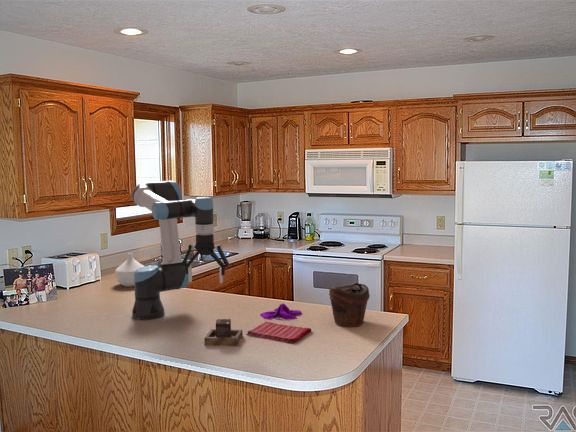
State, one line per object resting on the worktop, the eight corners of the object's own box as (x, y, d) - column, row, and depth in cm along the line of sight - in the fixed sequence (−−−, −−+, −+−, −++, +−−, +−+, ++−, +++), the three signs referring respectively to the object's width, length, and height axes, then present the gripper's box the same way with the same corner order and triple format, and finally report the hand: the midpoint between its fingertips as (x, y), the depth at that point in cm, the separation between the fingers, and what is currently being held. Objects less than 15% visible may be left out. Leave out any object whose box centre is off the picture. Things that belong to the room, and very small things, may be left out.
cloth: (253, 318, 254) (253, 305, 253) (275, 308, 270) (274, 296, 269) (294, 325, 242) (294, 312, 242) (314, 314, 258) (313, 302, 257)
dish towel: (294, 345, 218) (293, 339, 218) (245, 336, 230) (245, 330, 229) (313, 332, 233) (312, 326, 232) (266, 324, 244) (266, 319, 244)
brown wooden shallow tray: (204, 345, 219) (204, 338, 218) (211, 335, 230) (211, 328, 229) (237, 345, 217) (237, 338, 217) (242, 336, 228) (242, 329, 228)
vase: (142, 288, 311) (141, 255, 309) (111, 288, 311) (109, 256, 309) (151, 280, 329) (149, 249, 327) (121, 281, 330) (119, 250, 327)
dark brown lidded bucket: (373, 317, 250) (372, 279, 248) (365, 331, 231) (364, 291, 229) (336, 314, 256) (335, 278, 254) (325, 328, 237) (324, 288, 235)
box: (217, 336, 226) (216, 319, 225) (231, 335, 227) (230, 318, 226) (215, 341, 220) (215, 323, 219) (230, 340, 221) (230, 323, 220)
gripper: (173, 234, 225) (174, 283, 228) (231, 235, 222) (232, 285, 226) (178, 231, 232) (180, 278, 236) (235, 232, 230) (236, 280, 233)
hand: (205, 282), depth 231 cm, fingers open, 13 cm apart
